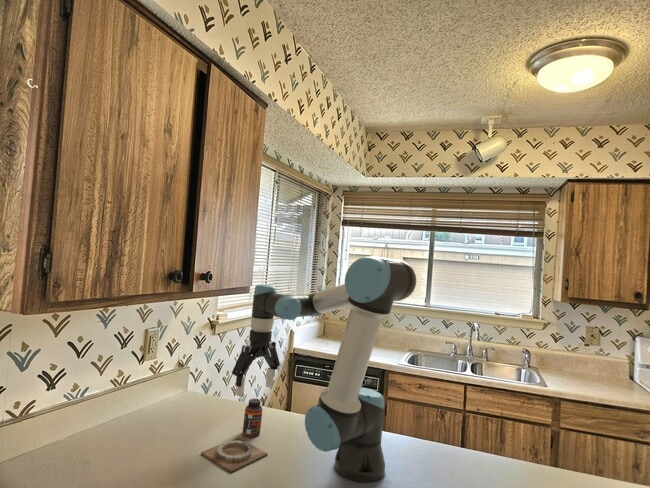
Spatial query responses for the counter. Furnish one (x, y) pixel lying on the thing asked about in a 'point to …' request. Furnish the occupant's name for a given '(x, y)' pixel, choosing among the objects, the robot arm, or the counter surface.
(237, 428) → the counter surface
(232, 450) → the seat board
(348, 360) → the robot arm
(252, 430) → the supplement bottle
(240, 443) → the collar
